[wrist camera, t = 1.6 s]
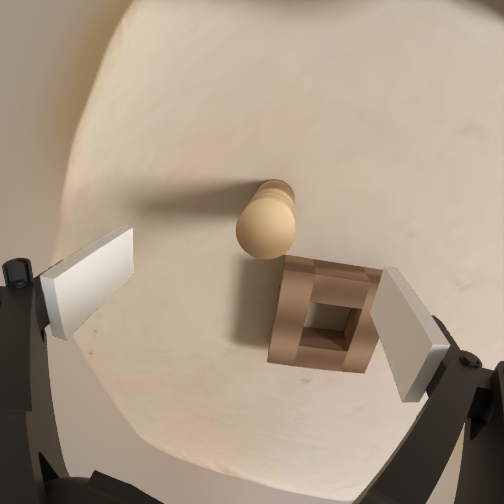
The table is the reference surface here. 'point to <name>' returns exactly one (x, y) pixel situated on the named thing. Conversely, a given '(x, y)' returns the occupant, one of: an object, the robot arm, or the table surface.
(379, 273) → the walnut socket
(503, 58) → the table surface
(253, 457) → the table surface
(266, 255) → the oak peg
